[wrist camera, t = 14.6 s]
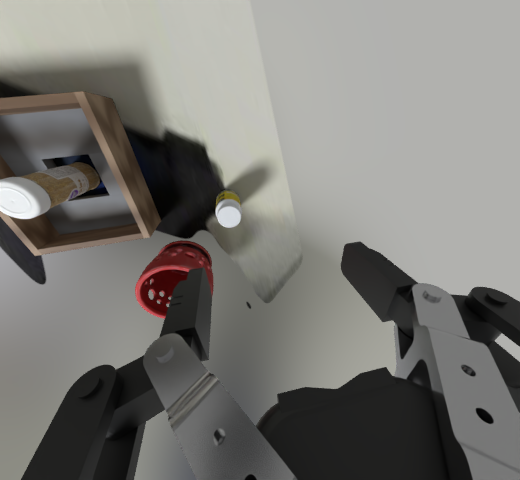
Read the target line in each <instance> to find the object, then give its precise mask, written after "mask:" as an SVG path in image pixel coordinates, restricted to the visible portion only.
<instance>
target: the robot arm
mask: <svg viewBox="0 0 520 480" xmlns="http://www.w3.org/2000/svg"><path fill="white" fill-rule="evenodd" d="M341 270H342V273H343V275H344V276H345V277H346V278H347V280H348V281H349V282H350V283H351V284H352V286H353V287H354V288H355V289H356V290H357V292H358V293H359V294H360V295H361V296H362V298H363V299H364V300H365V301H366V303H367V304H368V305H369V306H370V307H371V309H372V310H373V311H374V312H375V313H376V315H377V316H378V317H379V318H380V319H381V321H382V322H386V321H391V320H393V321H394V322H395V326H394V336H395V347H396V361H397V365H396V371H395V376H392V375H391V374H390V372H389V371H388V369H387V368H386V367H384V368H380V369H376V370H372V371H368V372H364V373H360V374H359V375H358V376H356V377H355V378H353V379H352V380H350V381H349V382H347V383H346V384H345V385H343V386H342V387H340V388H338V389H324V388H310V387H305V388H300V389H296V390H292V391H288V392H284V393H280V394H277V398H278V403H277V404H275V405H274V406H273V407H271V408H270V409H269V410H268V411H267V412H266V413H265V414H264V415H263V416H262V417H261V419H260V420H259V422H258V423H257V425H256V426H255V425H254V424H253V423H252V421H251V420H250V419H249V418H248V416H247V415H246V414H245V413H244V411H243V410H242V409H241V407H240V406H239V405H238V404H237V403H236V401H235V400H234V399H233V398H232V396H231V395H230V394H229V393H228V391H227V390H226V389H225V387H224V386H223V385H222V384H221V382H220V381H219V380H218V379H217V378H216V376H215V375H213V374H211V373H210V372H209V371H208V370H207V369H206V367H205V366H204V365H203V364H202V362H201V361H205V360H209V359H208V358H209V342H210V324H211V306H212V293H211V288H210V284H209V281H208V277H207V274H206V271H205V268H204V267H202V268H196V269H190V270H189V272H188V276H187V280H183V281H180V282H179V283H178V284H177V286H176V287H175V288H174V290H173V293H172V297H171V300H170V303H169V307H168V310H167V314H166V317H165V320H164V324H163V327H162V331H161V334H160V337H159V338H158V339H157V340H155V341H154V342H153V343H152V344H151V345H150V346H149V348H148V349H147V351H146V353H145V355H143V356H142V357H140V358H138V359H137V360H135V361H133V362H131V363H129V364H127V365H125V366H123V367H121V368H119V369H117V370H115V368H114V367H113V366H111V365H101V366H98V367H96V368H93V369H92V370H90V371H88V372H87V373H85V374H84V375H83V376H81V377H80V378H79V379H78V380H77V381H76V382H75V383H74V384H73V386H72V387H71V388H70V389H69V391H68V392H67V394H66V396H65V398H64V400H63V402H62V403H61V405H60V407H59V409H58V411H57V413H56V415H55V416H54V419H53V420H52V422H51V424H50V426H49V428H48V430H47V432H46V433H45V435H44V437H43V439H42V441H41V443H40V445H39V446H38V448H37V450H36V452H35V454H34V456H33V458H32V460H31V462H30V463H29V465H28V467H27V469H26V471H25V473H24V475H23V477H22V479H21V480H134V476H135V472H136V467H137V462H138V457H139V452H140V447H141V443H142V438H143V433H144V429H145V424H146V421H148V420H149V419H151V418H152V417H154V416H155V415H157V414H158V413H160V412H162V411H163V410H166V412H167V414H168V416H169V419H168V420H169V423H170V425H171V428H172V430H173V432H174V434H175V436H176V438H177V440H178V442H179V444H180V446H181V448H182V451H183V453H184V454H185V457H186V459H187V460H188V463H189V465H190V467H191V469H192V471H193V473H194V475H195V477H196V479H197V480H520V414H519V413H520V362H519V361H518V360H517V359H515V358H514V357H513V356H512V355H510V354H509V353H508V352H507V351H506V350H504V349H503V348H502V347H501V346H499V345H498V344H497V343H496V342H495V341H494V340H495V339H496V338H497V337H498V336H499V335H500V334H501V333H503V334H504V335H505V336H507V337H508V338H509V339H511V340H512V341H513V342H514V343H516V344H517V345H518V346H520V302H519V301H517V300H515V299H513V298H512V297H510V296H509V295H507V294H505V293H503V292H500V291H498V290H495V289H491V288H487V287H475V288H473V289H472V290H471V292H470V293H469V294H468V296H462V295H450V294H449V293H447V292H446V291H444V290H443V289H441V288H439V287H436V286H434V285H430V284H424V283H417V282H416V281H415V280H413V279H412V278H411V277H410V276H408V275H407V274H406V273H404V272H403V271H402V270H401V269H399V268H398V267H397V266H396V265H394V264H393V263H392V262H391V261H389V260H387V258H386V257H384V256H383V255H382V254H381V253H379V252H377V251H374V250H372V249H369V248H368V247H367V246H365V245H364V244H363V243H361V242H354V243H348V244H346V245H345V246H344V251H343V256H342V262H341Z"/></svg>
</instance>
